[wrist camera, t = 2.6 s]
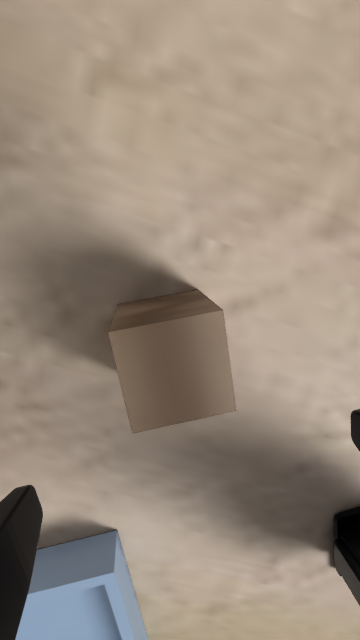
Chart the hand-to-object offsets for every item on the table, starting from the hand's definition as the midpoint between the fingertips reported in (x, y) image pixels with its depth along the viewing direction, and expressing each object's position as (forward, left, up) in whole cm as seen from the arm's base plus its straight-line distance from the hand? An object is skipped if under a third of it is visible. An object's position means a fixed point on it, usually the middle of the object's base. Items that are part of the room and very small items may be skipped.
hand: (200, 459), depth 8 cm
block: (0, 0, -12) cm, 12 cm away
